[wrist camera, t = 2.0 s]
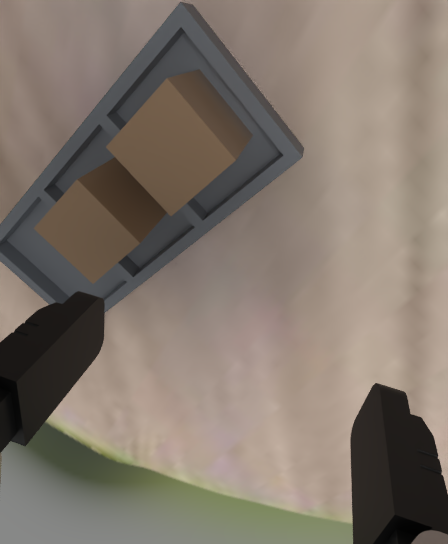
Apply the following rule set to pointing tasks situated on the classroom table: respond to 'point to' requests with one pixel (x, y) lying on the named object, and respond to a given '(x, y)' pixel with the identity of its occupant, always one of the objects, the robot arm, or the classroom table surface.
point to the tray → (93, 153)
